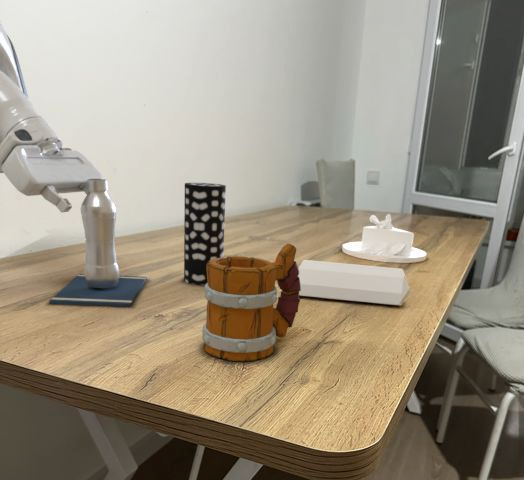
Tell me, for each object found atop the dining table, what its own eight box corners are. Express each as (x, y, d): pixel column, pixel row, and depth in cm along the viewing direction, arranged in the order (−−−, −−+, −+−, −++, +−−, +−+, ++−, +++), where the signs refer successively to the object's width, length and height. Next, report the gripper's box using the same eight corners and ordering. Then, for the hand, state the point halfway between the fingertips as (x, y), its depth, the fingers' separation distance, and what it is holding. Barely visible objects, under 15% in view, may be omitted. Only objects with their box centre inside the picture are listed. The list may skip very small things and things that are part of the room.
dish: (325, 249, 156) (329, 211, 151) (374, 243, 172) (379, 208, 167) (393, 266, 139) (400, 223, 135) (441, 257, 155) (449, 219, 151)
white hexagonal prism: (408, 279, 108) (294, 268, 111) (414, 268, 101) (292, 257, 104) (405, 313, 107) (290, 301, 110) (411, 305, 100) (288, 293, 103)
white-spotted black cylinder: (229, 283, 112) (233, 186, 104) (195, 287, 107) (197, 186, 100) (210, 274, 118) (212, 182, 110) (177, 278, 113) (177, 182, 106)
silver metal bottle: (82, 291, 97) (74, 179, 90) (88, 282, 103) (81, 177, 96) (118, 292, 98) (113, 181, 91) (121, 283, 104) (117, 179, 97)
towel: (49, 304, 91) (49, 300, 91) (79, 276, 109) (79, 273, 109) (130, 307, 92) (130, 303, 92) (146, 279, 110) (146, 276, 110)
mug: (186, 342, 77) (187, 242, 72) (274, 327, 86) (281, 236, 81) (223, 368, 69) (227, 257, 64) (316, 348, 78) (327, 249, 73)
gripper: (64, 159, 105) (108, 214, 106) (-16, 159, 87) (36, 224, 88) (82, 137, 102) (126, 193, 103) (2, 132, 84) (56, 200, 85)
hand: (84, 207), depth 95 cm, fingers open, 8 cm apart
